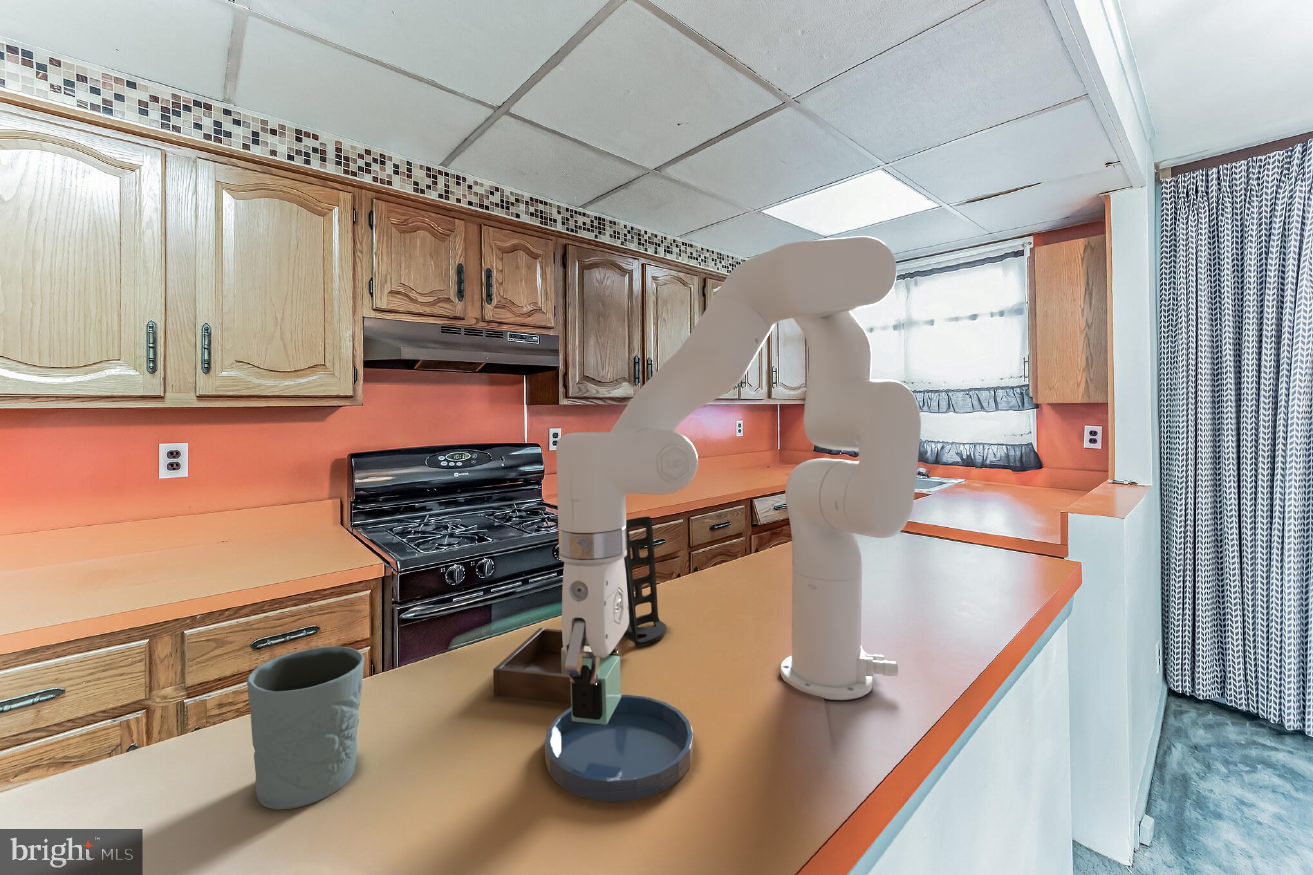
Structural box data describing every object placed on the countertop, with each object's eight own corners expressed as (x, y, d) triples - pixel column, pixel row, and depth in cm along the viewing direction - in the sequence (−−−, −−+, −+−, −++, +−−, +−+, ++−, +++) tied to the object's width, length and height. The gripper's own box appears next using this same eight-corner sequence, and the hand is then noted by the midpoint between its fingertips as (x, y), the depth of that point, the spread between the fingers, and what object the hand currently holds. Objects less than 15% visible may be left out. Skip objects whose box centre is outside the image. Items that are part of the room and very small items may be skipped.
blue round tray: (701, 722, 66) (701, 702, 66) (679, 818, 50) (679, 791, 50) (577, 707, 69) (577, 688, 69) (519, 792, 53) (518, 768, 53)
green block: (621, 697, 63) (620, 655, 63) (606, 724, 57) (605, 679, 57) (588, 694, 64) (587, 653, 63) (571, 721, 58) (570, 675, 58)
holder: (659, 648, 87) (647, 525, 87) (614, 648, 88) (603, 528, 88) (671, 623, 98) (660, 514, 98) (631, 624, 99) (620, 517, 99)
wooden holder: (621, 661, 83) (621, 634, 83) (590, 711, 68) (590, 679, 68) (540, 652, 86) (539, 627, 86) (493, 699, 71) (492, 669, 71)
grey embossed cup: (288, 752, 60) (286, 646, 60) (382, 747, 61) (380, 643, 60) (223, 819, 50) (220, 692, 49) (337, 813, 51) (334, 688, 50)
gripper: (600, 565, 50) (605, 752, 51) (643, 527, 67) (647, 668, 68) (527, 562, 52) (532, 743, 53) (587, 526, 69) (590, 664, 70)
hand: (597, 699), depth 60 cm, fingers closed on green block, 5 cm apart
